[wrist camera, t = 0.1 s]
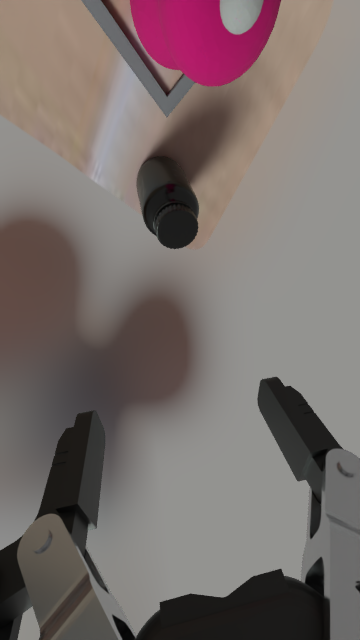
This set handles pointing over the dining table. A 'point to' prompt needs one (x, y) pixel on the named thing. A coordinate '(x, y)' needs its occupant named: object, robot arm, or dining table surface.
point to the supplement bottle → (167, 202)
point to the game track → (138, 60)
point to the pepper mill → (205, 35)
